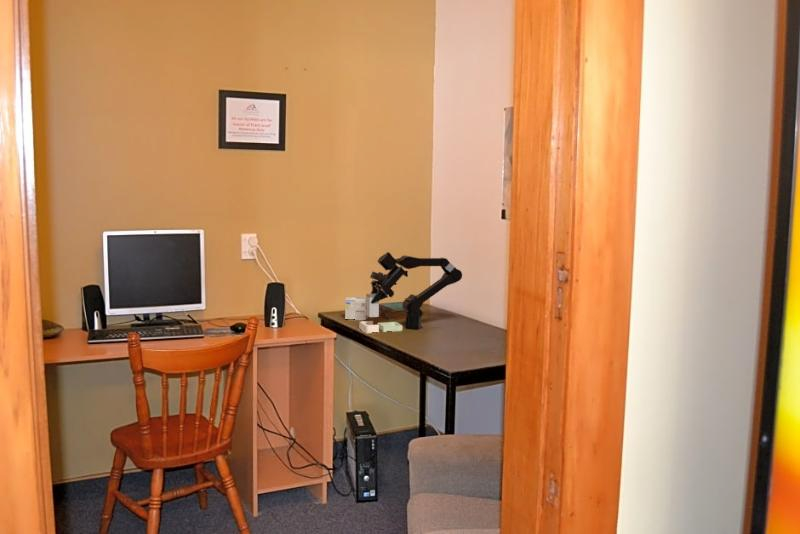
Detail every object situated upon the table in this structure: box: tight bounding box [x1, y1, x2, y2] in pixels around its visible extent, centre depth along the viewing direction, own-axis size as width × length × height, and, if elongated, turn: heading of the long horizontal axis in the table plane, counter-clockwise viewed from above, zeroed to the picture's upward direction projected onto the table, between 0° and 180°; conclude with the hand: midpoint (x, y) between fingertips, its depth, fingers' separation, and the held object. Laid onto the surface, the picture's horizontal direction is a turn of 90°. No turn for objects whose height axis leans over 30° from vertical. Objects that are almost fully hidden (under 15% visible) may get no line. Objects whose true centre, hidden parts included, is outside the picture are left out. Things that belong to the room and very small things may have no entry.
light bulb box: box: [344, 296, 369, 321], centre depth 355 cm, size 11×7×11 cm, turn 84°
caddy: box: [365, 293, 380, 318], centre depth 327 cm, size 4×5×10 cm
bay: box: [358, 320, 380, 334], centre depth 328 cm, size 6×10×4 cm, turn 20°
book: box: [379, 301, 408, 320], centre depth 368 cm, size 23×18×5 cm
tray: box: [376, 321, 403, 333], centre depth 331 cm, size 9×9×2 cm
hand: (369, 301), depth 327 cm, fingers closed on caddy, 5 cm apart
